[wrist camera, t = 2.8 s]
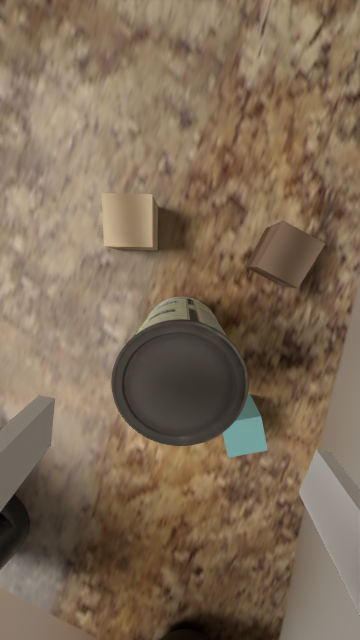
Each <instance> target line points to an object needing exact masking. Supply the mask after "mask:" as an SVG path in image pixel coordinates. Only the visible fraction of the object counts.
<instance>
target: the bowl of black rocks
mask: <svg viewBox="0 0 360 640" xmlns="http://www.w3.org/2000/svg"><path fill="white" fill-rule="evenodd" d="M160 640H212V639H210V638H209V637H208V636H206V635H205V634H203V633H201V632H199V631H196V630H192V629H179V630H175V631H173V632H170V633H169V634H167V635H165V636H164V637H163V638H161V639H160Z"/></svg>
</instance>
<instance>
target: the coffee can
mask: <svg viewBox="0 0 360 640" xmlns="http://www.w3.org/2000/svg"><path fill="white" fill-rule="evenodd" d="M248 390H249V378H248V372H247V368H246V365H245V362H244V359H243V358H242V356H241V354H240V352H239V351H238V349H237V348H236V347H235V345H234V344H233V343H232V342H231V340H230V339H229V338H228V337H227V336H226V334H225V332H224V331H223V329H222V327H221V326H220V324H219V323H218V321H217V319H216V317H215V315H214V314H213V312H212V311H211V310H210V309H209V308H208V307H207V306H206V305H205V304H203V303H202V302H200V301H198V300H196V299H193V298H189V297H174V298H170V299H167V300H165V301H163V302H161V303H160V304H158V305H157V306H156V307H155V308H154V309H152V311H151V312H150V314H149V315H148V317H147V319H146V320H145V322H144V323H143V324H142V326H141V327H140V329H139V330H138V331H137V332H136V334H135V335H134V336H133V337H132V338H131V339H130V340H129V341H128V343H127V344H126V345H125V346H124V348H123V349H122V351H121V352H120V354H119V355H118V357H117V359H116V362H115V364H114V368H113V372H112V392H113V397H114V400H115V403H116V406H117V408H118V410H119V412H120V414H121V415H122V417H123V418H124V419H125V421H126V422H127V423H128V424H129V425H130V426H131V427H132V428H133V429H135V430H136V431H137V432H138V433H140V434H142V435H143V436H145V437H146V438H148V439H151V440H153V441H156V442H158V443H162V444H167V445H174V446H188V445H194V444H199V443H203V442H206V441H209V440H211V439H213V438H215V437H217V436H218V435H220V434H221V433H223V432H224V431H226V430H227V429H228V428H229V427H230V426H231V425H232V424H233V423H234V422H235V421H236V419H237V418H238V417H239V415H240V413H241V412H242V410H243V408H244V406H245V403H246V400H247V396H248Z"/></svg>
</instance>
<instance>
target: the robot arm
mask: <svg viewBox="0 0 360 640" xmlns="http://www.w3.org/2000/svg"><path fill="white" fill-rule="evenodd" d="M54 402H55V398H50V397H45V396H40V395H39V396H38V397H37V398H36V399H34V400H33V401H32V402H31V403H30V404H29V405H28V406H26V407H25V408H24V409H23V410H22V411H21V412H20V413H18V414H17V415H16V416H15V417H14V418H13V419H12V420H10V421H9V422H8V423H7V424H6V425H5V426H4V427H2V428H1V429H0V570H1V569H2V567H3V566H4V565H5V564H6V563H7V562H8V561H9V560H10V559H11V558H12V557H13V556H14V554H15V553H16V552H17V550H18V549H19V547H20V545H21V544H22V542H23V540H24V539H25V537H26V535H27V533H28V529H29V519H28V515H27V513H26V510H25V509H24V507H23V505H22V504H21V503H20V502H19V500H18V499H17V498H16V497H15V496H13V495H14V493H15V492H16V491H17V489H18V488H19V487H20V485H21V484H22V483H23V481H24V480H25V479H26V477H27V476H28V475H29V474H30V472H31V471H32V470H33V468H34V467H35V466H36V464H37V463H38V462H39V460H40V459H41V458H42V456H43V455H44V454H45V452H46V451H47V450H48V448H49V447H50V446H51V437H52V425H53V414H54ZM299 494H300V496H301V498H302V500H303V502H304V504H305V507H306V509H307V510H308V512H309V514H310V517H311V519H312V521H313V523H314V525H315V526H316V529H317V531H318V533H319V535H320V537H321V539H322V541H323V543H324V545H325V547H326V549H327V551H328V553H329V555H330V557H331V559H332V561H333V563H334V565H335V567H336V569H337V571H338V573H339V575H340V577H341V579H342V581H343V583H344V585H345V587H346V589H347V591H348V593H349V595H350V597H351V599H352V601H353V603H354V605H355V607H356V610H357V611H358V614H359V616H360V489H359V488H358V486H357V485H356V484H355V482H354V481H353V480H352V479H351V477H350V476H349V475H348V473H347V472H346V471H345V470H344V468H343V467H342V466H341V464H340V463H339V462H338V461H337V459H336V458H335V457H334V455H333V454H332V453H331V452H326V451H321V450H316V452H315V454H314V457H313V459H312V462H311V464H310V467H309V469H308V472H307V474H306V477H305V479H304V481H303V484H302V486H301V489H300V491H299Z"/></svg>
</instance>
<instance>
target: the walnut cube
mask: <svg viewBox="0 0 360 640" xmlns="http://www.w3.org/2000/svg"><path fill="white" fill-rule="evenodd" d="M324 245H325V243H323V242H321V241H319V240H318V239H316V238H314V237H312V236H310V235H308V234H307V233H305V232H303V231H301V230H299V229H298V228H296V227H294V226H292V225H290V224H288V223H287V222H285V221H281V222H279V223H277V224H275V225H272V226H270V227H268V228H266V230H265V231H264V233H263V235H262V237H261V239H260V240H259V242H258V244H257V246H256V248H255V250H254V251H253V253H252V255H251V257H250V259H249V261H248V262H247V264H246V266H245V267H246V268H248V269H250V270H252V271H254V272H256V273H258V274H260V275H262V276H264V277H265V278H267V279H269V280H271V281H273V282H275V283H277V284H279V285H283V286H289V287H294V288H299V286H300V284H301V283H302V281H303V279H304V278H305V276H306V275H307V273H308V271H309V270H310V268H311V266H312V265H313V263H314V261H315V260H316V258H317V257H318V255H319V253H320V252H321V250H322V248H323V247H324Z"/></svg>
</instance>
